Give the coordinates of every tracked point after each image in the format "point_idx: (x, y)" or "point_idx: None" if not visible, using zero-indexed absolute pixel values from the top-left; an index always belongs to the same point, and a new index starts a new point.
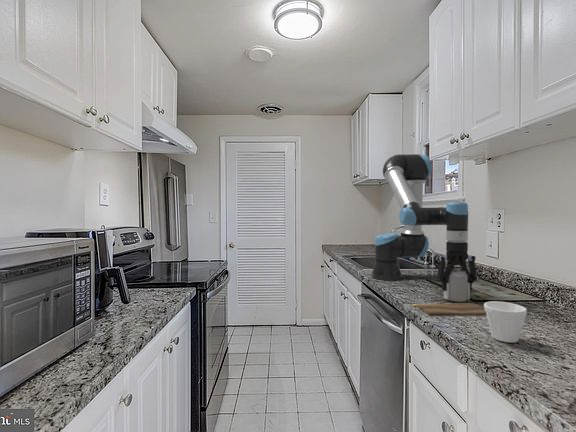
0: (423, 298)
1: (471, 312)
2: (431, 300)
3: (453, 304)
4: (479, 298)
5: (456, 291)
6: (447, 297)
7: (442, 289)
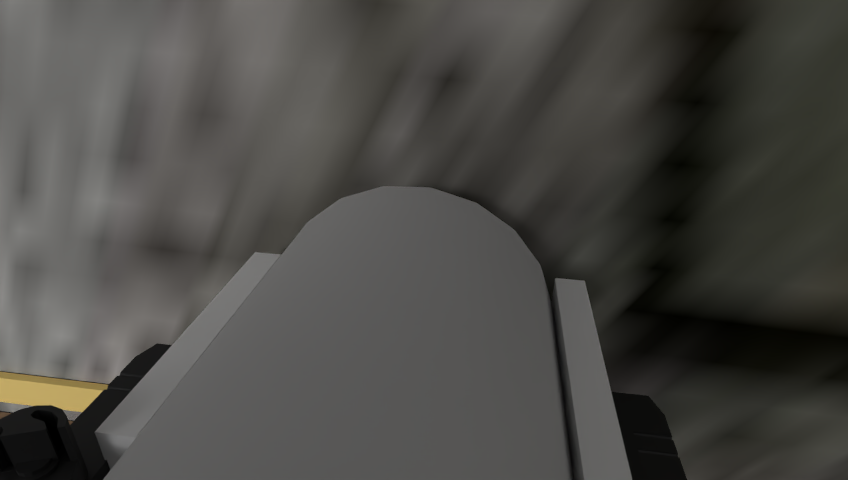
0: (16, 154)
1: None
2: (103, 249)
3: None
4: (845, 250)
5: None
6: None
7: (150, 359)
